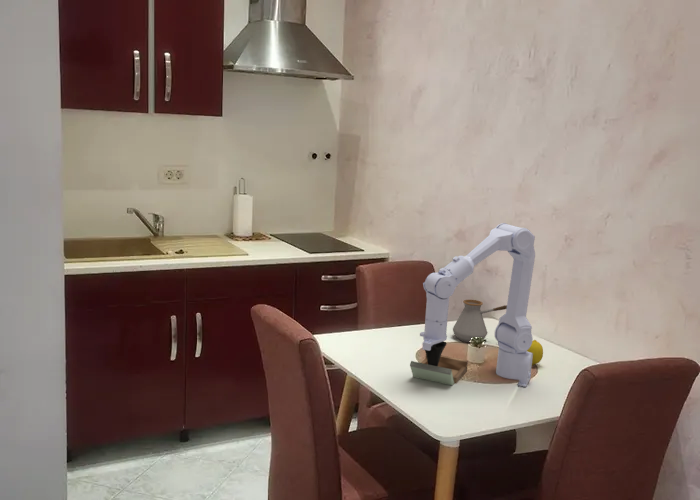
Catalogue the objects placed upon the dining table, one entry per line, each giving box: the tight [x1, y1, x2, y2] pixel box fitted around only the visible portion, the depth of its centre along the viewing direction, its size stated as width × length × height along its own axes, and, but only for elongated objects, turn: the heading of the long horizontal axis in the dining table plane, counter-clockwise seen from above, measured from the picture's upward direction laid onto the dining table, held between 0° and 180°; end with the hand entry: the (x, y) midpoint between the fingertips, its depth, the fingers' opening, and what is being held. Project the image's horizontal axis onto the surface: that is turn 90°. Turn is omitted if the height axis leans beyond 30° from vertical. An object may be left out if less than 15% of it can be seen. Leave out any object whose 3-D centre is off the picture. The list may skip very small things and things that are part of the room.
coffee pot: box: [452, 299, 507, 343], centre depth 217 cm, size 21×12×15 cm, turn 62°
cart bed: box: [420, 354, 469, 384], centre depth 184 cm, size 12×11×4 cm
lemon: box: [527, 339, 544, 366], centre depth 198 cm, size 6×6×8 cm
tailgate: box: [409, 360, 455, 386], centre depth 175 cm, size 11×1×7 cm
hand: (432, 368), depth 174 cm, fingers closed, pressing on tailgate
